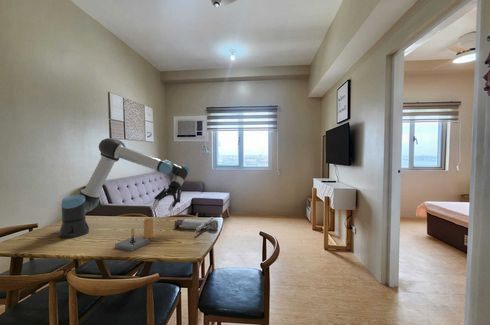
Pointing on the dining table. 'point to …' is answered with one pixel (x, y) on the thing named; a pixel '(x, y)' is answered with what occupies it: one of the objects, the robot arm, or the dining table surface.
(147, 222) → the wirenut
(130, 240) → the grey base with peg
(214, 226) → the toy
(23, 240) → the dining table surface
